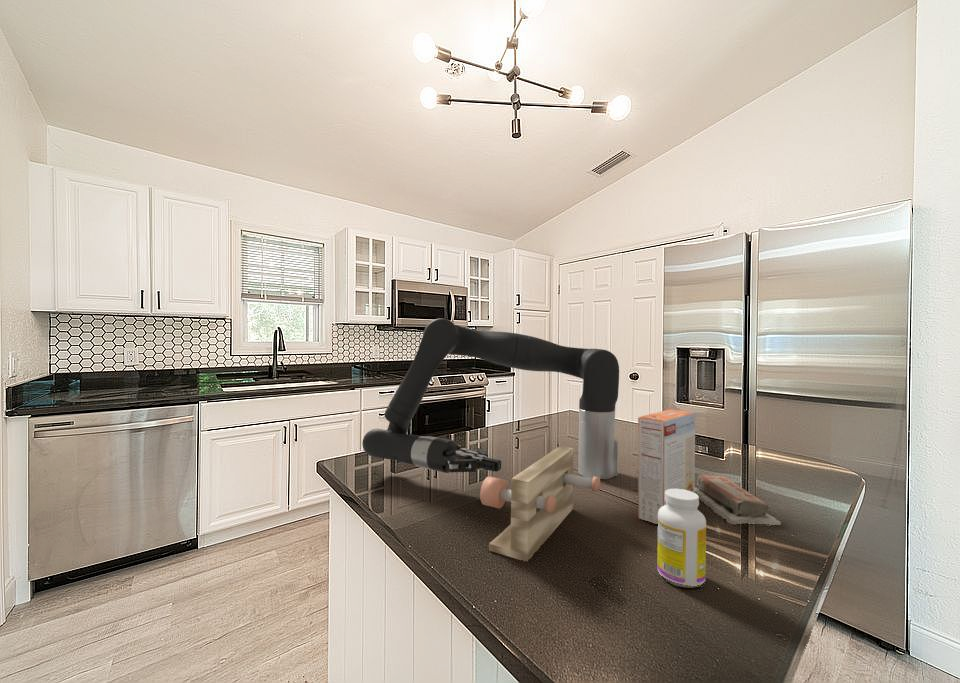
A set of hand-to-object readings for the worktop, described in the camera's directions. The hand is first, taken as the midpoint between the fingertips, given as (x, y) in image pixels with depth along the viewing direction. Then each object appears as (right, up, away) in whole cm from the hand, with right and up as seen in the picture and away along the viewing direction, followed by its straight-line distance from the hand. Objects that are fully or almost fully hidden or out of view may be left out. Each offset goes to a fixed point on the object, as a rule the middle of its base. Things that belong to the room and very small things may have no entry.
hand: (499, 466), depth 91 cm
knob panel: (+6, -8, -11) cm, 15 cm away
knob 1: (+2, -3, -17) cm, 18 cm away
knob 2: (+13, -3, -7) cm, 15 cm away
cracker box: (+34, -9, -5) cm, 36 cm away
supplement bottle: (+26, -9, -27) cm, 39 cm away
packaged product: (+50, -9, 0) cm, 51 cm away
